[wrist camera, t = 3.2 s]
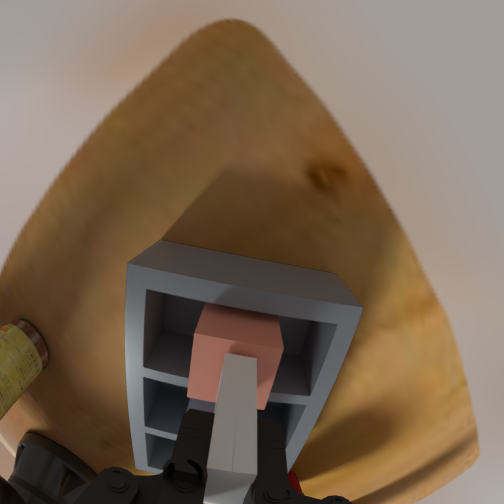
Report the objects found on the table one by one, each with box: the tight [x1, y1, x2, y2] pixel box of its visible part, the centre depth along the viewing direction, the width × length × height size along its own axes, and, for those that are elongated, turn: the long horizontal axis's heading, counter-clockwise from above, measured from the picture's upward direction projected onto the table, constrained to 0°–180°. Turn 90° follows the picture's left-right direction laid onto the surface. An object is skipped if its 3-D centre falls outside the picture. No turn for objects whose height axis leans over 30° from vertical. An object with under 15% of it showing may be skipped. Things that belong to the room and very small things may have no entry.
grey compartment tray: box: [125, 240, 364, 474], centre depth 20 cm, size 13×20×6 cm, turn 169°
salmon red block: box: [187, 302, 284, 410], centre depth 16 cm, size 4×4×5 cm
